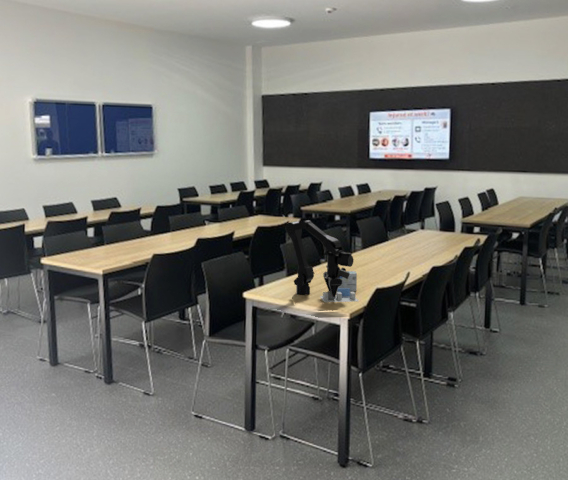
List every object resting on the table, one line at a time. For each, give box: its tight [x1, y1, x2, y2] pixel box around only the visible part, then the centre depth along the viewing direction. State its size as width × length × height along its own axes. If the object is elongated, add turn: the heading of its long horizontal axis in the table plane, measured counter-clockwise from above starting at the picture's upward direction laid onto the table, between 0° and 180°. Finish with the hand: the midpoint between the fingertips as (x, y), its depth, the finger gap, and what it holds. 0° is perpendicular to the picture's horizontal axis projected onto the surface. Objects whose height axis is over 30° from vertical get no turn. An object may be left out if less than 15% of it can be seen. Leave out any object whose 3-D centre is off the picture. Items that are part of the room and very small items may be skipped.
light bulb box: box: [337, 270, 358, 292], centre depth 324 cm, size 11×7×11 cm, turn 92°
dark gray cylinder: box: [326, 290, 336, 300], centre depth 304 cm, size 6×4×4 cm, turn 7°
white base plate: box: [319, 288, 359, 303], centre depth 305 cm, size 18×12×5 cm, turn 97°
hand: (332, 294), depth 304 cm, fingers open, 9 cm apart
